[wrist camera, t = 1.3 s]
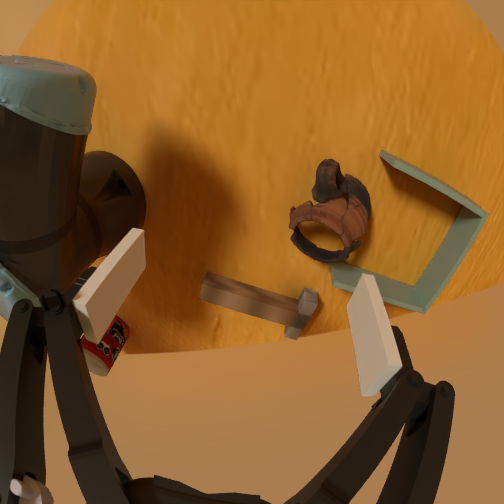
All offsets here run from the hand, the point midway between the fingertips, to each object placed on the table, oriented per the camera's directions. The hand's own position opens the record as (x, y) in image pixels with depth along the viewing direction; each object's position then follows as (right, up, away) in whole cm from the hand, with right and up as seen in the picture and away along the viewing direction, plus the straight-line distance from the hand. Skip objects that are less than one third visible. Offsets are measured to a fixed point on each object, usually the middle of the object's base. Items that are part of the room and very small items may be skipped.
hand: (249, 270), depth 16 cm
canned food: (-28, -14, +36) cm, 48 cm away
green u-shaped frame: (+20, +4, +17) cm, 26 cm away
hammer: (+1, -5, +26) cm, 27 cm away
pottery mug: (+9, +8, +17) cm, 21 cm away
